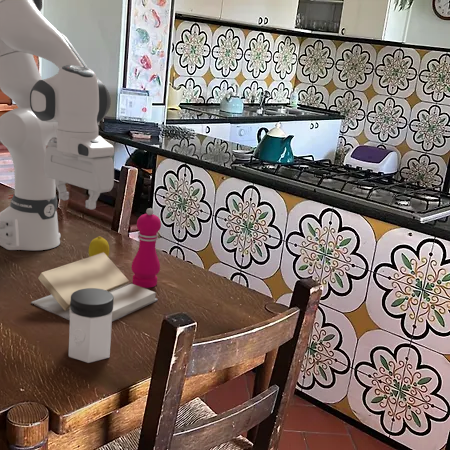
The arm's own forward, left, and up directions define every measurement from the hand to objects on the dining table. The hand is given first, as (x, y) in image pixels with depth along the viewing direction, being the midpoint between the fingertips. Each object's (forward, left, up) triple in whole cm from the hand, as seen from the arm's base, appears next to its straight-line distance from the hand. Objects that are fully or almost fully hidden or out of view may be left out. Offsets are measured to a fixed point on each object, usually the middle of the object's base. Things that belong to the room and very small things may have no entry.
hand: (76, 204), depth 139 cm
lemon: (-11, +20, -23) cm, 33 cm away
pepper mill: (+6, +19, -23) cm, 31 cm away
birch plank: (+1, +2, -19) cm, 19 cm away
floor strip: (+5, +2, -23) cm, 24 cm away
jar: (+21, -16, -23) cm, 35 cm away
